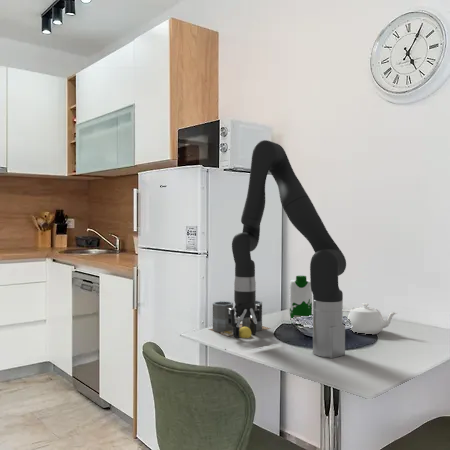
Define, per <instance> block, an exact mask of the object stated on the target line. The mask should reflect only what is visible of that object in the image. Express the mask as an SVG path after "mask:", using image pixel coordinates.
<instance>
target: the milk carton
mask: <svg viewBox="0 0 450 450" xmlns="http://www.w3.org/2000/svg"><path fill="white" fill-rule="evenodd" d="M309 315H312V316H313V293H312V290H311V282H310V279H307V276H306V275H296V276H295V279H290V283H289V317H290V319H291V318H293V317H301V316H309Z"/></svg>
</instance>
